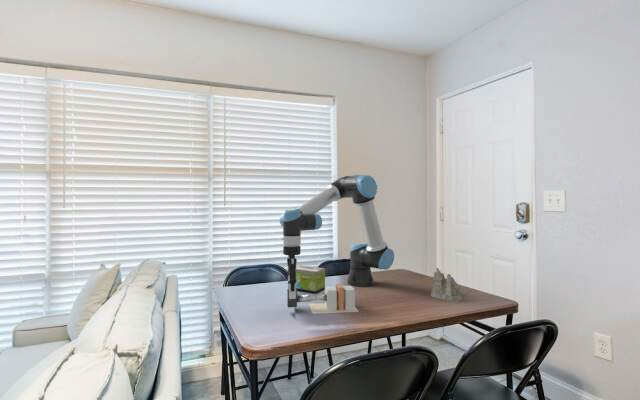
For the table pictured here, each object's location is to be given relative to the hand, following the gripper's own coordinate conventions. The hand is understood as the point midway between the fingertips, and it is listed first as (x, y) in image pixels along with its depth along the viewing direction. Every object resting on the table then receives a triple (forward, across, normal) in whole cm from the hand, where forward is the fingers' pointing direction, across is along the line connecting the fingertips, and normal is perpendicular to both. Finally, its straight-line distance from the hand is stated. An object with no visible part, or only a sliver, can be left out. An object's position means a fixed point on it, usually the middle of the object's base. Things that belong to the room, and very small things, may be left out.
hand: (291, 294), depth 154 cm
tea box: (+8, -23, +9) cm, 26 cm away
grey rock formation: (+8, -15, +79) cm, 81 cm away
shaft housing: (+8, 0, +18) cm, 20 cm away
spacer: (+6, 0, +21) cm, 22 cm away
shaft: (+5, 0, +7) cm, 9 cm away
